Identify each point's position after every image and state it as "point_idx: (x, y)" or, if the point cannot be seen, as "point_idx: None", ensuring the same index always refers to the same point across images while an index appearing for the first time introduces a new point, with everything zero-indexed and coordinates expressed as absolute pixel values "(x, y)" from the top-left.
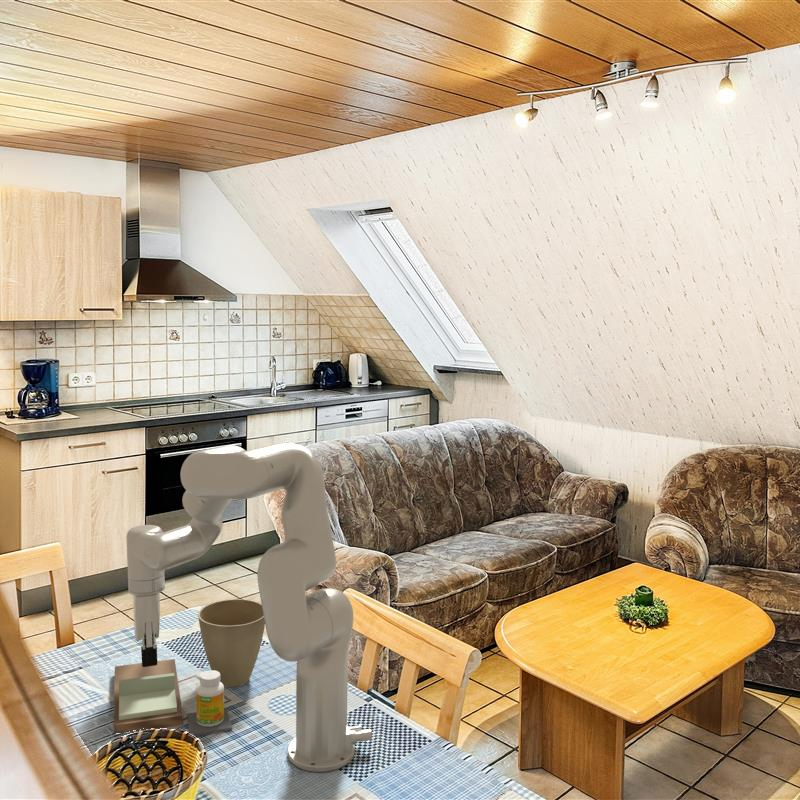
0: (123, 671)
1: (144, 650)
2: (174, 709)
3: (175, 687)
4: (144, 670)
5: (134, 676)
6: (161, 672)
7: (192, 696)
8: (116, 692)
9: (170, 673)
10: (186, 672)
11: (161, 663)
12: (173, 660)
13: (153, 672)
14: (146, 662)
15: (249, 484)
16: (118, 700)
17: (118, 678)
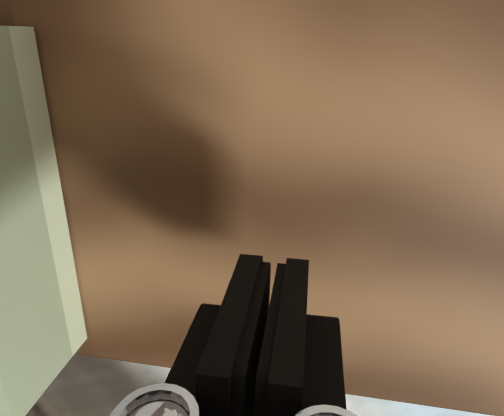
0: (498, 73)
1: (199, 392)
2: None
3: (130, 348)
4: (430, 231)
5: (356, 154)
6: (344, 321)
7: (135, 372)
8: (132, 6)
9: (8, 410)
10: (392, 404)
11: (487, 343)
12: (492, 408)
13: (365, 279)
14: (202, 309)
15: None
16: (16, 20)
17: (376, 25)
